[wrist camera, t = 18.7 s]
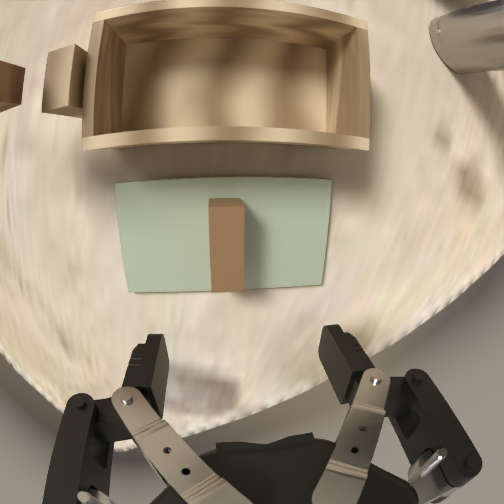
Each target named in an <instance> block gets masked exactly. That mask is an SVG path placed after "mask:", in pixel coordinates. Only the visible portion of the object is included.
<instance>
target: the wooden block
mask: <svg viewBox="0 0 504 504" xmlns="http://www.w3.org/2000/svg"><path fill="white" fill-rule="evenodd" d="M24 75H25V68H23V67H20V66H17V65H14V64H10V63H7V62H3V61H0V112H3V111H5V110H8V109H10V108H13V107H15V106H18V105H21V101H22V91H23V82H24Z"/></svg>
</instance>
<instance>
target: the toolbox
mask: <svg viewBox="0 0 504 504" xmlns="http://www.w3.org/2000/svg"><path fill="white" fill-rule="evenodd" d="M42 113H50V114H58V115H65V116H71V117H78V118H82V151H88V150H102V149H118V148H127V147H137V146H149V145H163V144H181V143H271V144H289V145H303V146H315V147H326V148H340V149H355V150H367V151H369V141H370V59H369V42H368V30H367V21H364V20H361V19H358V18H354V17H351V16H347V15H344V14H340V13H336V12H332V11H328V10H324V9H319V8H315V7H310V6H305V5H299V4H293V3H286V2H279V1H271V0H160V1H152V2H145V3H139V4H133V5H128V6H122V7H118V8H113V9H109V10H104V11H100V12H97V13H95V16H94V20H93V25H92V30H91V36H90V41H89V48H88V52H86V51H85V50H83V49H82V48H80V47H79V46H77V45H76V44H74V45H70V46H67V47H64V48H61V49H58V50H55V51H52V52H49V53H48V58H47V64H46V71H45V79H44V88H43V100H42Z"/></svg>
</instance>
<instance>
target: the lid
mask: <svg viewBox="0 0 504 504" xmlns="http://www.w3.org/2000/svg"><path fill="white" fill-rule="evenodd" d="M114 185H115V198H116V210H117V219H118V228H119V236H120V244H121V251H122V257H123V264H124V270H125V276H126V281H127V286H128V292H182V291H212V292H234V291H244V289H258V288H276V287H292V286H307V285H321V284H322V277H323V269H324V261H325V253H326V244H327V234H328V224H329V214H330V202H331V188H332V180H331V179H322V178H300V177H196V178H173V179H156V180H142V181H130V182H119V183H115V184H114Z"/></svg>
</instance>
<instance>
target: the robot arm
mask: <svg viewBox="0 0 504 504" xmlns="http://www.w3.org/2000/svg"><path fill="white" fill-rule="evenodd" d="M430 36H431V40H432V43H433V45H434V47H435V49H436V51H437V53H438V55H439V56H440V58H441V59H442V60H443V62H444V63H445V64H446V65H447V66H448V67H449V68H450V69H452V70H453V71H455V72H457V73H474V72H485V71H501V70H504V0H495V1H491V2H487V3H483V4H479V5H475V6H472V7H468V8H465V9H462V10H458V11H455V12H452V13H449V14H446V15H443V16H440V17H438V18H435V19H433V20H432V21H431V23H430ZM319 358H320V361H321V363H322V365H323V367H324V369H325V371H326V374H327V376H328V378H329V380H330V382H331V384H332V386H333V389H334V391H335V393H336V395H337V397H338V400H339V402H340V404H345V403H349V405H350V408H349V411H348V413H347V415H346V418H345V420H344V423H343V425H342V428H341V430H340V432H339V435H338V437H337V439H336V441H335V443H334V442H331V441H328V440H324V439H318V438H314V436H313V433H312V432H311V433H306V434H300V435H294V436H289V437H286V438H283V439H281V440H278V441H276V442H272V443H269V444H255V443H247V442H224V443H216V449H214V450H211V451H207V452H205V453H203V454H201V455H199V456H197V454H195V452H194V451H193V450H192V449H191V448H190V447H189V446H188V445H187V444H186V443H185V442H184V441H183V440H182V438H181V437H180V436H179V435H178V434H177V433H176V432H175V430H174V429H173V428H172V427H171V426H170V425H169V424H168V423H167V422H166V421H165V420H162V418H163V410H164V401H165V393H166V386H167V378H168V371H169V358H168V353H167V348H166V343H165V338H164V335H163V334H148V336H147V340H146V343H145V344H138V345H137V346H136V347H135V348H134V349H133V351H132V354H131V359H130V361H129V365H128V367H127V371H126V374H125V377H124V381H123V384H122V387H121V388H119V389H117V390H116V391H115V392H114V393H113V395H112V397H110V398H106V399H100V400H93V398H92V397H91V396H90V395H88V394H85V393H79V394H75V395H73V396H72V397H71V398H70V399H69V400H68V402H67V404H66V407H65V411H64V414H63V417H62V420H61V424H60V427H59V430H58V434H57V438H56V441H55V445H54V449H53V453H52V457H51V461H50V466H49V470H48V475H47V481H46V486H45V491H44V497H43V503H42V504H116V503H115V502H114V501H113V500H111V499H110V498H109V486H110V475H111V465H112V456H113V448H114V442H116V441H122V440H128V439H132V440H133V441H134V443H135V444H136V446H137V447H138V449H139V450H140V451H141V453H142V454H143V455H144V457H145V458H146V460H147V461H148V462H149V464H150V465H151V466H152V468H153V469H154V470H155V472H156V473H157V474H158V476H159V477H160V478H161V479H162V481H163V482H164V483H165V484H166V485H167V487H166V488H165V489H164V490H163V491H162V492H161V493H160V494H159V495H158V496H157V497H156V498H155V499H154V500H153V501H152V502H151V503H150V504H428V503H439V502H441V501H443V500H444V499H446V498H447V497H448V496H450V495H451V494H453V493H454V492H456V491H457V490H458V489H460V488H461V487H462V486H464V485H465V484H466V483H468V482H469V481H470V480H471V479H473V478H474V477H475V476H476V475H477V474H478V473H479V472H480V470H481V468H482V459H481V457H480V455H479V453H478V452H477V450H476V448H475V447H474V445H473V443H472V441H471V440H470V438H469V436H468V435H467V433H466V432H465V430H464V428H463V427H462V425H461V424H460V422H459V420H458V419H457V417H456V416H455V414H454V412H453V411H452V409H451V408H450V406H449V405H448V403H447V402H446V400H445V399H444V397H443V396H442V394H441V393H440V391H439V390H438V388H437V387H436V385H435V384H434V383H433V381H432V380H431V378H430V377H429V375H428V374H427V373H426V372H424V371H423V370H420V369H411V370H409V371H407V373H406V375H405V377H390V376H389V375H388V373H387V372H385V371H384V370H382V369H378V368H375V367H374V366H373V364H372V362H371V361H370V359H369V358H368V356H367V355H366V353H365V351H363V348H362V347H361V345H360V344H359V342H358V341H357V339H356V338H355V337H354V336H352V335H351V334H350V333H348V332H346V333H344V332H343V330H342V329H341V327H340V326H339V325H338V324H335V325H327V326H324V327H323V329H322V334H321V340H320V345H319ZM384 417H389V419H390V421H391V424H392V426H393V427H394V430H395V432H396V434H397V436H398V438H399V440H400V442H401V445H402V447H403V449H404V451H405V453H406V455H407V458H408V460H409V462H410V464H411V467H410V468H409V471H408V478H409V479H408V482H407V481H405V480H403V479H401V478H399V477H397V476H395V475H393V474H391V473H389V472H387V471H385V470H383V469H381V468H379V467H377V466H375V465H374V464H372V463H371V460H372V457H373V454H374V451H375V448H376V445H377V441H378V438H379V434H380V431H381V428H382V424H383V420H384Z"/></svg>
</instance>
